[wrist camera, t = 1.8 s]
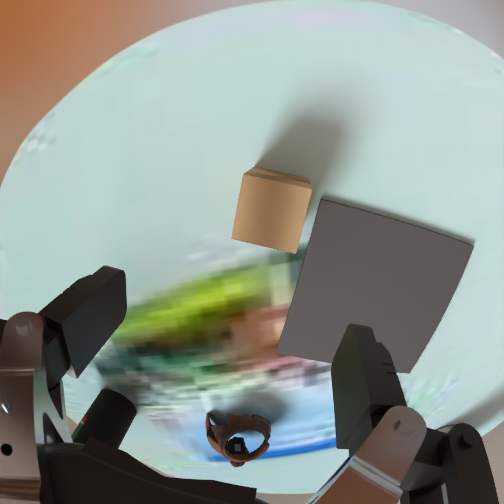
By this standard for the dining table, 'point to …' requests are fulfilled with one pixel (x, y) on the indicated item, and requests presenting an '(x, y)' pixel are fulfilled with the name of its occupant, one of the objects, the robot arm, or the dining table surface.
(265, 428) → the brown hollow rounded piece
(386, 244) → the charcoal mat
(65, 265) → the dining table surface
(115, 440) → the wine bottle
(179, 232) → the dining table surface
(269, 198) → the oak block
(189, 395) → the dining table surface
